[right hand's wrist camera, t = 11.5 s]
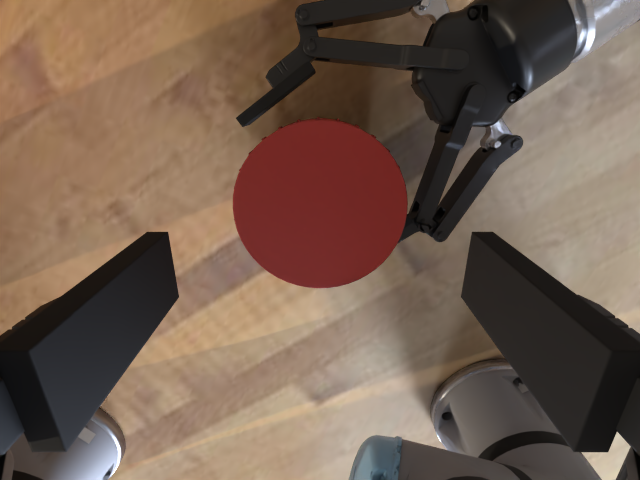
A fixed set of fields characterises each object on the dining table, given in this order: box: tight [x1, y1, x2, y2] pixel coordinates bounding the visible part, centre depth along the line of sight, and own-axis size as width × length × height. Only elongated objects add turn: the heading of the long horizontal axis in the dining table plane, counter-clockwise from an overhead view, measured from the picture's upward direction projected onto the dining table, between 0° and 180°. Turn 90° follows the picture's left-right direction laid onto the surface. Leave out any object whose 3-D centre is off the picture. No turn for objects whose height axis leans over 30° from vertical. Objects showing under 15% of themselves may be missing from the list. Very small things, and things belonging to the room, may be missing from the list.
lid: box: [233, 117, 408, 288], centre depth 20 cm, size 10×10×2 cm
